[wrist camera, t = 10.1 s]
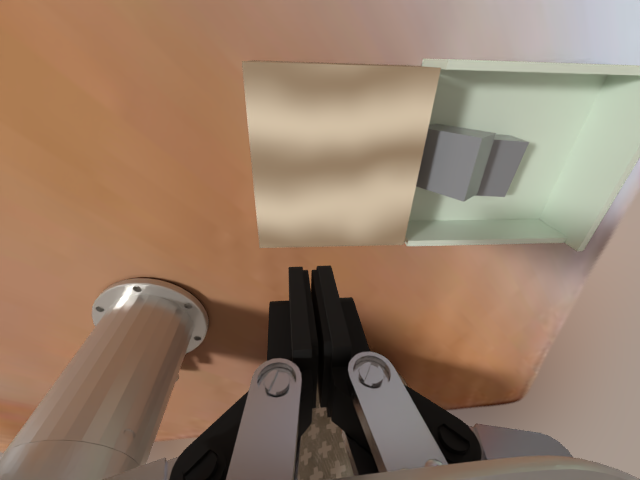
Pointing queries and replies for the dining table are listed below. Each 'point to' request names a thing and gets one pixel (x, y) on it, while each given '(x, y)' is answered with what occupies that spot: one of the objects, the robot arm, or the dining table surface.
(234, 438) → the robot arm
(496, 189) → the tile rear
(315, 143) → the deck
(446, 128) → the tile front
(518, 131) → the tray
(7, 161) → the dining table surface
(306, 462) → the planter
